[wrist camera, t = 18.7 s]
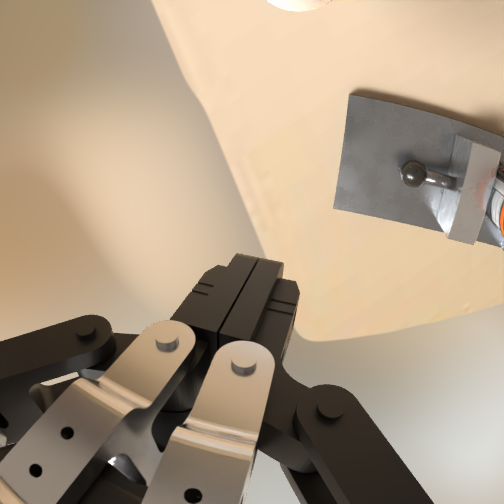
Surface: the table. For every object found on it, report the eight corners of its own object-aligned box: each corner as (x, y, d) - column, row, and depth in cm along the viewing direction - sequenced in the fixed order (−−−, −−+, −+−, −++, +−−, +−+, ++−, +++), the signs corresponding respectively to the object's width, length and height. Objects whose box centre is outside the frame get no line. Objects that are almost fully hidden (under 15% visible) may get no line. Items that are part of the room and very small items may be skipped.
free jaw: (483, 143, 24) (503, 153, 20) (462, 225, 29) (476, 245, 25) (404, 119, 26) (414, 125, 22) (387, 207, 31) (393, 226, 26)
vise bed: (542, 154, 23) (571, 169, 17) (514, 246, 29) (535, 274, 23) (348, 94, 28) (349, 94, 22) (334, 203, 34) (330, 227, 28)
